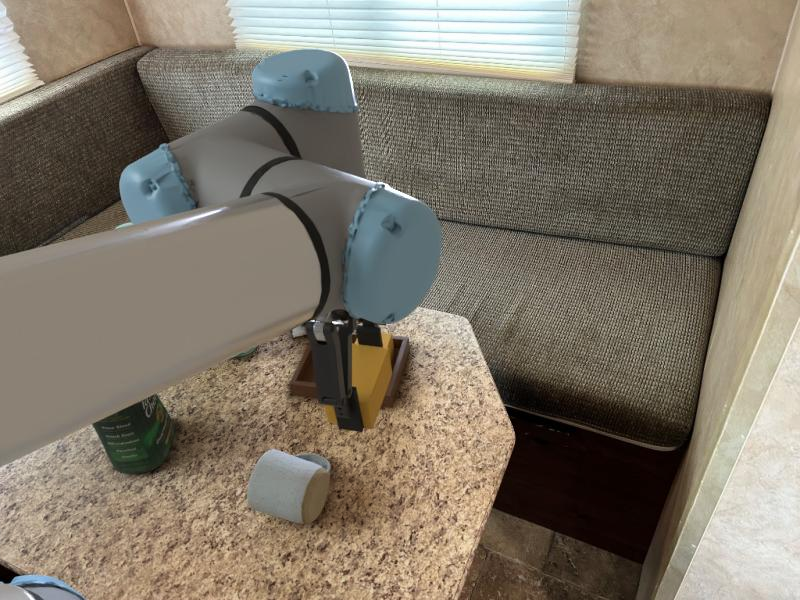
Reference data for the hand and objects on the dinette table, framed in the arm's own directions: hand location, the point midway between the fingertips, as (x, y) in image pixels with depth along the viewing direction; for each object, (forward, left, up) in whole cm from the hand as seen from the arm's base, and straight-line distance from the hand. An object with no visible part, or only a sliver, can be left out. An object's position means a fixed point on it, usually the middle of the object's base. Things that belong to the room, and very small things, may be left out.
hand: (363, 396), depth 70 cm
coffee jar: (-1, +34, -16) cm, 37 cm away
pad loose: (0, 0, 0) cm, 0 cm away
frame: (+18, +9, -16) cm, 25 cm away
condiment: (+29, +19, -16) cm, 38 cm away
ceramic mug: (-4, +9, -16) cm, 19 cm away
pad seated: (+18, +6, -15) cm, 24 cm away
